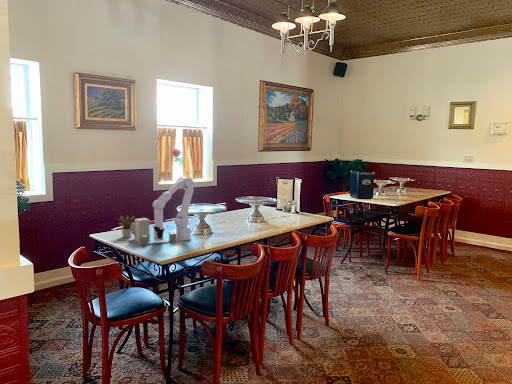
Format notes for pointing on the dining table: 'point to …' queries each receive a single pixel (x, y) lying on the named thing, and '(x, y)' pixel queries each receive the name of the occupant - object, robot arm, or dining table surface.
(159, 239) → the block
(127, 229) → the house plant
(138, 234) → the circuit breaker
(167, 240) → the steel rail
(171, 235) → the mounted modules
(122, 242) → the dining table surface
